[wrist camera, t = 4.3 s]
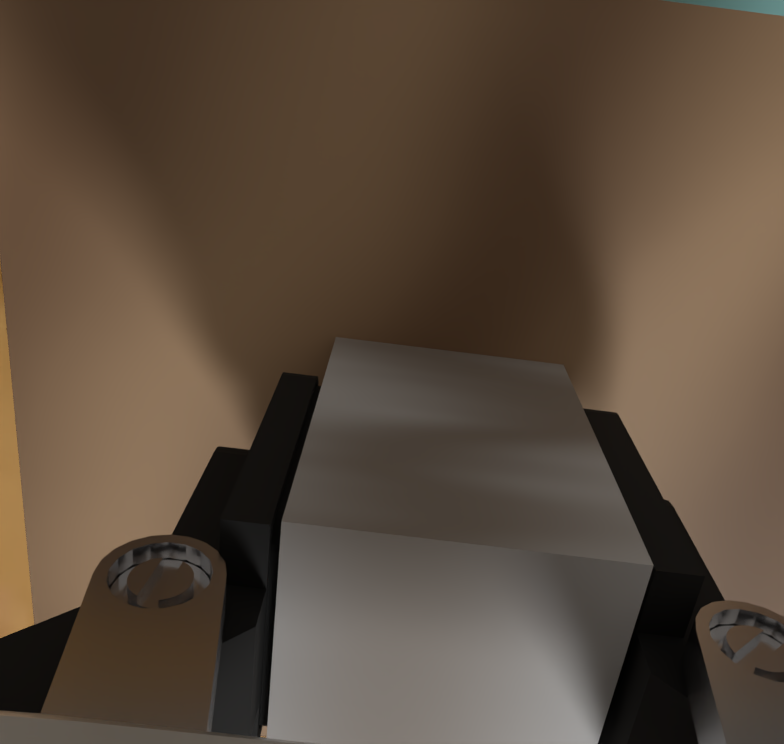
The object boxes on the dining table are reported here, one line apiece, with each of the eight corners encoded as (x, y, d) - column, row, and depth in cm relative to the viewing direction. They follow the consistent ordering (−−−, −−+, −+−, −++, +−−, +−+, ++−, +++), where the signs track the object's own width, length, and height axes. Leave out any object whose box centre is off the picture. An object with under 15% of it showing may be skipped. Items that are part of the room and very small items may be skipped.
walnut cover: (996, 48, 11) (1577, 49, 5) (712, 755, 16) (856, 1103, 11) (0, -79, 10) (-443, -214, 5) (59, 679, 16) (-122, 997, 11)
